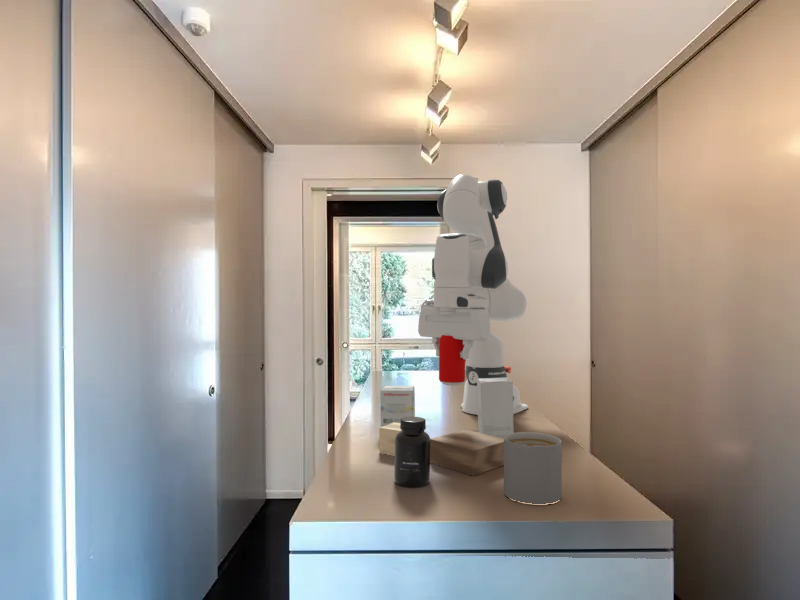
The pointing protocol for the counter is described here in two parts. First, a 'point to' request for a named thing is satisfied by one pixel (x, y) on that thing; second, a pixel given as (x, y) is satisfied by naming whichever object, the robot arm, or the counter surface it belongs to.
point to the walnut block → (467, 452)
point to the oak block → (388, 438)
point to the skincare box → (495, 406)
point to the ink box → (396, 403)
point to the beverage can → (451, 361)
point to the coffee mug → (533, 467)
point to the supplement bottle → (412, 453)
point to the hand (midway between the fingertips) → (452, 357)
